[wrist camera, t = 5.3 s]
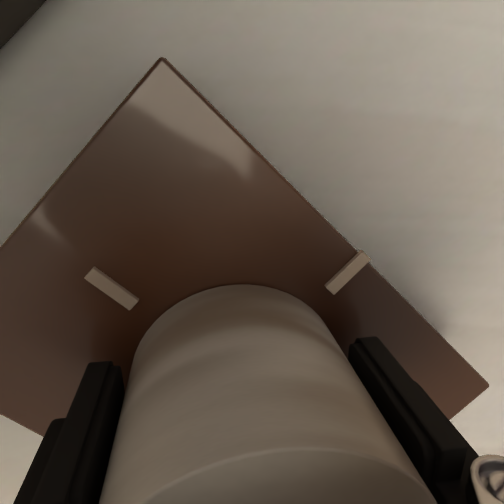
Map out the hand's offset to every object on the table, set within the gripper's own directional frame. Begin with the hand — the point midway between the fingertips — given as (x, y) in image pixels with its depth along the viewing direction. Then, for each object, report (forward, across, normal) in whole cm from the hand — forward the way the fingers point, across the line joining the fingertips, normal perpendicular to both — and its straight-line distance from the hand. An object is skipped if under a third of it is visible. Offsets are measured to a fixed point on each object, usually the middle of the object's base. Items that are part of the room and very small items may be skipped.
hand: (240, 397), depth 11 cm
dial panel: (+4, 0, 0) cm, 4 cm away
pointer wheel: (+1, 0, 0) cm, 1 cm away
